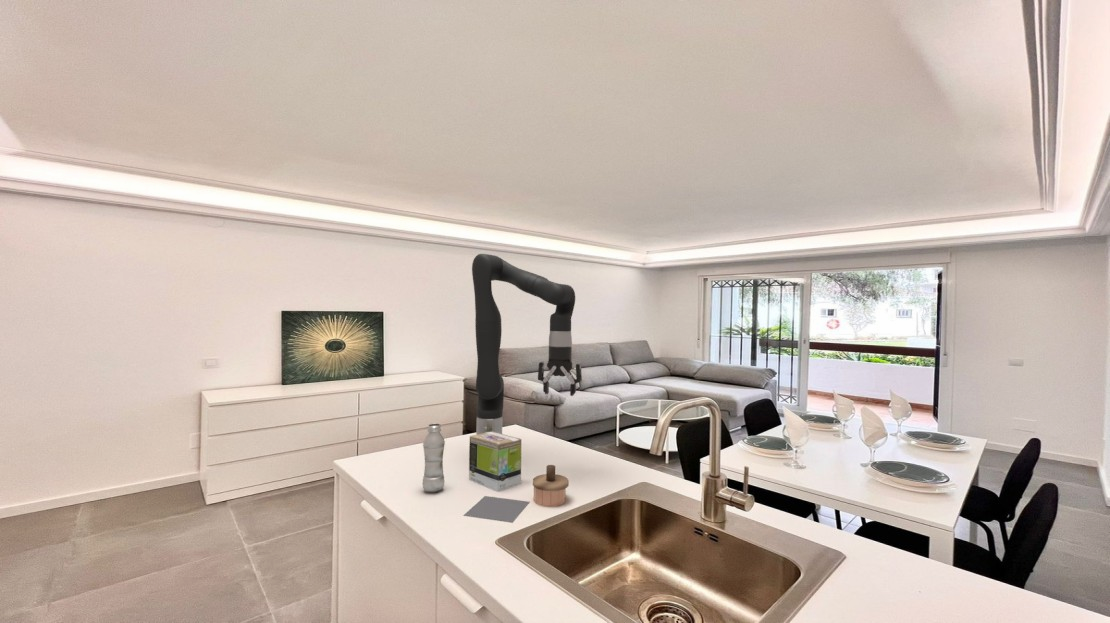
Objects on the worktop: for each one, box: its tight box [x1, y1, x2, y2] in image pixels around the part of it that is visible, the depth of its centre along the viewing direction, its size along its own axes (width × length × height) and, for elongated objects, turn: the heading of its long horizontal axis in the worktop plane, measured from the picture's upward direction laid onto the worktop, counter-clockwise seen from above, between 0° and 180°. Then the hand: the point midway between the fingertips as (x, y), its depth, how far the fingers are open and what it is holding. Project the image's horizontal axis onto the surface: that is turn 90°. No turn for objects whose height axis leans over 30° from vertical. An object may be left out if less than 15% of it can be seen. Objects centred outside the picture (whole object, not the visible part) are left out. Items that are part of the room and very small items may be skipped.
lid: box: [532, 464, 570, 491], centre depth 136 cm, size 10×10×5 cm
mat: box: [462, 495, 531, 524], centre depth 129 cm, size 14×14×1 cm
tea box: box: [468, 431, 522, 492], centre depth 150 cm, size 15×10×15 cm
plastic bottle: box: [421, 423, 446, 493], centre depth 142 cm, size 6×7×20 cm
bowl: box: [533, 486, 567, 507], centre depth 135 cm, size 9×9×5 cm
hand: (559, 394), depth 152 cm, fingers open, 8 cm apart
